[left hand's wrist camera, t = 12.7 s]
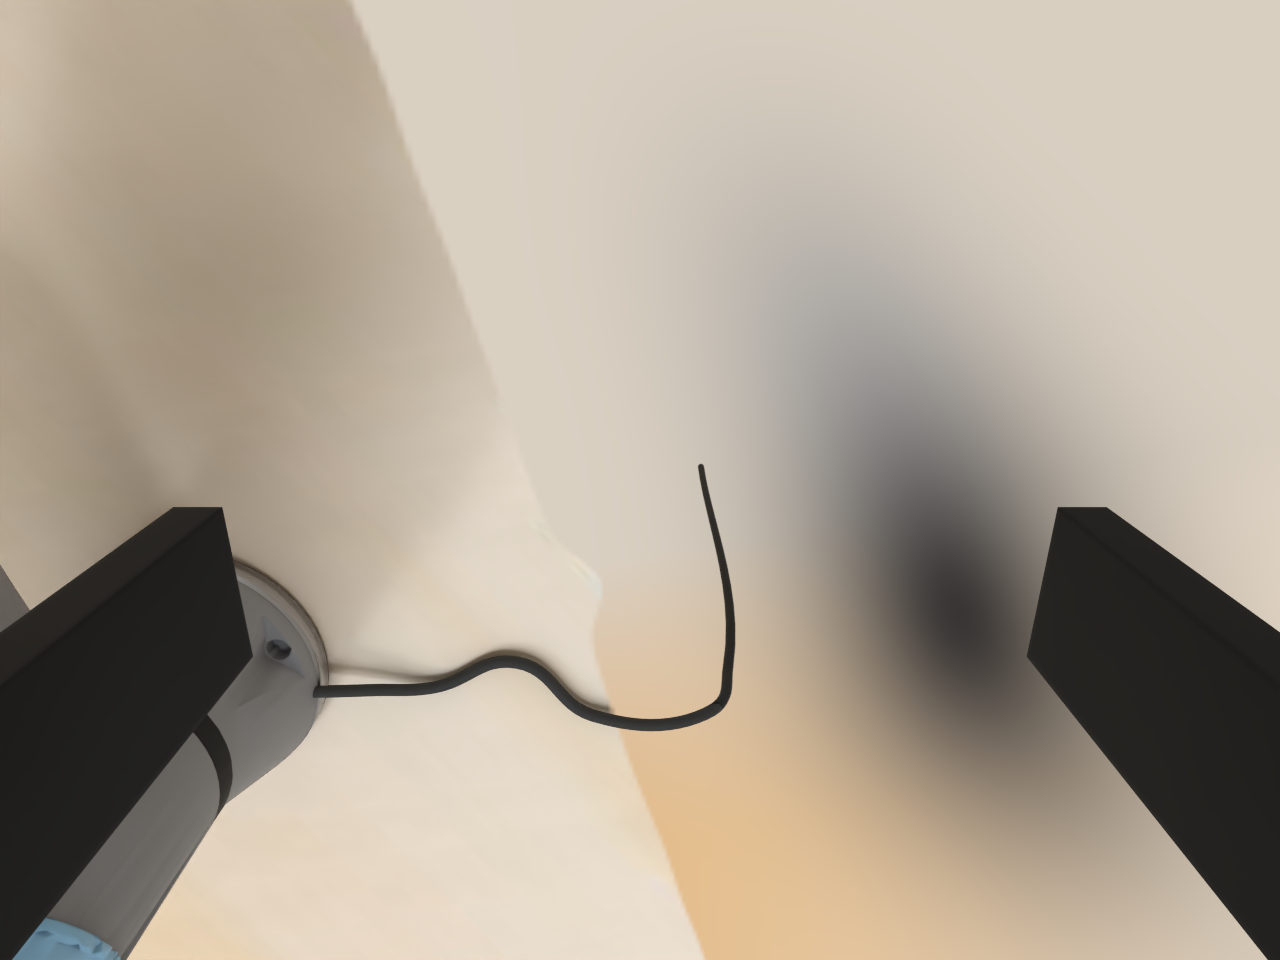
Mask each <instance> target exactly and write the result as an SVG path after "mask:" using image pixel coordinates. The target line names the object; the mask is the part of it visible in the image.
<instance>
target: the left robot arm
mask: <svg viewBox="0 0 1280 960" xmlns="http://www.w3.org/2000/svg"><path fill="white" fill-rule="evenodd" d="M698 471H699V477H700V483H701V488H702V493H703V498H704V502H705V507H706V511H707V515H708V519H709V523H710V528H711V532H712V536H713V540H714V545H715V549H716V554H717V558H718V563H719V569H720V574H721V580H722V587H723V595H724V603H725V619H726V635H725V652H724V660H723V669H722V682H721V690H720V694H719V696H718V697H717V699H716V700H715V701H714V702H713V703H711V704H710V705H708V706H706V707H704V708H703V709H700V710H698V711H695V712H692V713H689V714H686V715H682V716H678V717H672V718H664V719H638V718H629V717H623V716H618V715H613V714H609V713H605V712H601V711H597V710H594V709H591V708H589V707H586V706H584V705H583V704H581V703H579V702H578V701H577V700H575V699H574V698H573V697H572V696H571V695H570V694H569V693H568V692H567V691H566V690H565V689H564V687H563V686H562V685H561V684H560V683H559V682H558V681H557V680H556V678H555V677H554V676H553V675H552V674H551V673H550V672H548V671H547V670H546V669H545V668H544V667H542V666H541V665H539V664H537V663H536V662H534V661H531V660H529V659H526V658H522V657H518V656H498V657H492V658H489V659H486V660H483V661H481V662H478V663H476V664H474V665H472V666H470V667H469V668H467V669H465V670H463V671H461V672H459V673H457V674H455V675H453V676H451V677H448V678H446V679H443V680H439V681H434V682H428V683H419V684H361V685H328V666H327V659H326V655H325V651H324V648H323V645H322V642H321V640H320V638H319V635H318V633H317V631H316V629H315V628H314V626H313V624H312V623H311V621H310V619H309V618H308V617H307V615H306V614H305V612H304V611H303V610H302V609H301V608H300V606H299V605H298V604H297V603H296V602H295V601H294V600H293V599H292V598H291V597H290V596H289V595H288V594H287V593H286V592H285V591H284V590H282V589H281V588H280V587H279V586H278V585H276V584H275V583H274V582H272V581H271V580H269V579H268V578H266V577H265V576H263V575H262V574H260V573H258V572H256V571H255V570H253V569H251V568H249V567H247V566H245V565H243V564H240V563H238V562H235V561H233V557H232V552H231V547H230V543H229V538H228V533H227V528H226V523H225V519H224V514H223V509H222V507H173V508H172V509H170V510H169V511H168V512H166V513H165V514H163V515H162V516H161V517H159V518H158V519H156V520H155V521H154V522H152V523H151V524H150V525H148V526H147V527H145V528H144V529H143V530H141V531H140V532H138V533H137V534H136V535H134V536H133V537H132V538H130V539H129V540H127V541H126V542H125V543H123V544H122V545H120V546H119V547H118V548H116V549H115V550H114V551H112V552H111V553H109V554H108V555H107V556H105V557H104V558H102V559H101V560H100V561H98V562H97V563H96V564H94V565H93V566H91V567H90V568H89V569H87V570H86V571H84V572H83V573H82V574H80V575H79V576H78V577H76V578H75V579H73V580H72V581H71V582H69V583H68V584H66V585H65V586H64V587H62V588H61V589H60V590H58V591H57V592H55V593H54V594H53V595H51V596H50V597H48V598H47V599H46V600H44V601H43V602H42V603H40V604H39V605H37V606H36V607H35V608H33V609H32V610H29V608H28V607H27V605H26V604H25V602H24V601H23V599H22V598H21V596H20V595H19V593H18V592H17V590H16V589H15V587H14V586H13V584H12V583H11V581H10V579H9V578H8V576H7V575H6V573H5V571H4V570H3V568H2V567H1V565H0V960H126V959H127V958H128V956H129V955H130V953H131V952H132V950H133V948H134V947H135V945H136V944H137V942H138V940H139V939H140V937H141V936H142V934H143V933H144V931H145V929H146V928H147V926H148V925H149V923H150V922H151V920H152V918H153V917H154V915H155V914H156V912H157V910H158V909H159V907H160V906H161V904H162V903H163V901H164V899H165V898H166V896H167V895H168V893H169V892H170V890H171V888H172V887H173V885H174V884H175V882H176V880H177V879H178V877H179V876H180V874H181V873H182V871H183V869H184V868H185V866H186V865H187V863H188V862H189V860H190V858H191V857H192V855H193V854H194V852H195V851H196V849H197V847H198V846H199V844H200V843H201V841H202V839H203V838H204V836H205V835H206V833H207V832H208V830H209V828H210V827H211V825H212V823H213V822H214V820H215V819H216V817H217V816H218V814H219V813H220V811H221V810H222V808H223V807H224V805H225V804H226V803H228V802H229V801H230V800H232V799H233V798H234V797H236V796H237V795H238V794H240V793H241V792H242V791H244V790H245V789H246V788H248V787H249V786H250V785H252V784H253V783H254V782H256V781H257V780H258V779H260V778H261V777H262V776H264V775H265V774H266V773H268V772H269V771H270V770H272V769H273V768H274V767H276V766H277V765H278V764H279V763H281V762H282V761H283V760H284V759H286V758H287V757H288V756H289V755H290V754H291V753H292V752H293V751H294V750H295V749H296V748H297V747H298V746H299V745H300V743H301V742H302V741H303V740H304V738H305V737H306V736H307V734H308V732H309V731H310V729H311V727H312V726H313V724H314V722H315V721H316V719H317V717H318V715H319V713H320V712H321V709H322V707H323V704H324V702H325V698H328V697H361V696H416V695H426V694H433V693H438V692H443V691H446V690H449V689H452V688H454V687H457V686H459V685H461V684H463V683H465V682H467V681H469V680H471V679H473V678H475V677H476V676H478V675H480V674H482V673H485V672H487V671H489V670H493V669H497V668H516V669H520V670H524V671H526V672H529V673H531V674H532V675H534V676H536V677H537V678H538V679H540V680H541V681H542V682H543V683H544V684H545V685H546V686H547V687H548V688H549V689H550V690H551V692H552V693H553V694H554V695H555V696H556V697H557V698H558V699H559V700H560V701H561V702H562V703H563V704H564V705H565V706H566V707H567V708H568V709H569V710H571V711H572V712H573V713H575V714H576V715H578V716H580V717H582V718H584V719H587V720H589V721H592V722H596V723H599V724H603V725H607V726H612V727H617V728H622V729H629V730H638V731H665V730H673V729H679V728H683V727H688V726H691V725H694V724H697V723H700V722H702V721H705V720H707V719H709V718H711V717H713V716H715V715H716V714H718V713H719V712H720V711H722V710H723V709H724V707H725V706H726V705H727V703H728V701H729V699H730V696H731V693H732V683H733V666H734V655H735V613H734V602H733V595H732V588H731V582H730V577H729V572H728V567H727V562H726V558H725V553H724V549H723V545H722V541H721V537H720V533H719V529H718V526H717V522H716V518H715V514H714V510H713V506H712V502H711V498H710V494H709V490H708V485H707V480H706V475H705V469H704V465H703V464H699V465H698ZM1027 657H1028V659H1029V660H1030V661H1031V663H1032V664H1033V665H1034V666H1035V668H1036V669H1037V670H1038V671H1039V673H1040V674H1041V675H1042V676H1043V678H1044V679H1045V680H1046V681H1047V683H1048V684H1049V685H1050V686H1051V688H1052V689H1053V690H1054V691H1055V693H1056V694H1057V695H1058V697H1059V698H1060V699H1061V700H1062V702H1063V703H1064V704H1065V705H1066V707H1067V708H1068V709H1069V710H1070V712H1071V713H1072V714H1073V715H1074V717H1075V718H1076V719H1077V720H1078V722H1079V723H1080V724H1081V725H1082V727H1083V728H1084V729H1085V730H1086V732H1087V733H1088V734H1089V735H1090V737H1091V738H1092V739H1093V740H1094V742H1095V743H1096V744H1097V746H1098V747H1099V748H1100V749H1101V751H1102V752H1103V753H1104V754H1105V756H1106V757H1107V758H1108V759H1109V761H1110V762H1111V763H1112V764H1113V766H1114V767H1115V768H1116V769H1117V771H1118V772H1119V773H1120V774H1121V776H1122V777H1123V778H1124V779H1125V781H1126V782H1127V783H1128V784H1129V786H1130V787H1131V788H1132V790H1133V791H1134V792H1135V793H1136V795H1137V796H1138V797H1139V798H1140V800H1141V801H1142V802H1143V803H1144V805H1145V806H1146V807H1147V808H1148V810H1149V811H1150V812H1151V813H1152V815H1153V816H1154V817H1155V818H1156V820H1157V821H1158V822H1159V824H1160V825H1161V826H1162V827H1163V829H1164V830H1165V831H1166V832H1167V834H1168V835H1169V836H1170V837H1171V839H1172V840H1173V841H1174V842H1175V844H1176V845H1177V846H1178V847H1179V849H1180V850H1181V851H1182V852H1183V854H1184V855H1185V856H1186V857H1187V859H1188V860H1189V861H1190V862H1191V864H1192V865H1193V866H1194V867H1195V869H1196V870H1197V871H1198V873H1199V874H1200V875H1201V876H1202V878H1203V879H1204V880H1205V881H1206V883H1207V884H1208V885H1209V886H1210V888H1211V889H1212V890H1213V891H1214V893H1215V894H1216V895H1217V896H1218V898H1219V899H1220V900H1221V902H1222V903H1223V904H1224V905H1225V907H1226V908H1227V909H1228V910H1229V912H1230V913H1231V914H1232V915H1233V916H1234V918H1235V919H1236V920H1237V922H1238V923H1239V924H1240V925H1241V927H1242V928H1243V929H1244V930H1245V932H1246V933H1247V934H1248V935H1249V937H1250V938H1251V939H1252V940H1253V942H1254V943H1255V944H1256V946H1257V947H1258V948H1259V949H1260V951H1261V952H1262V953H1263V954H1264V956H1265V957H1266V958H1267V959H1268V960H1280V632H1279V631H1277V630H1276V629H1274V628H1273V627H1272V626H1270V625H1269V624H1268V623H1266V622H1265V621H1263V620H1262V619H1260V618H1259V617H1258V616H1256V615H1255V614H1254V613H1252V612H1251V611H1250V610H1248V609H1247V608H1245V607H1244V606H1243V605H1241V604H1240V603H1238V602H1237V601H1236V600H1234V599H1233V598H1231V597H1230V596H1229V595H1227V594H1226V593H1225V592H1223V591H1222V590H1220V589H1219V588H1218V587H1216V586H1215V585H1214V584H1212V583H1211V582H1209V581H1208V580H1207V579H1205V578H1204V577H1202V576H1201V575H1200V574H1198V573H1197V572H1196V571H1194V570H1193V569H1191V568H1190V567H1189V566H1187V565H1186V564H1184V563H1183V562H1182V561H1180V560H1179V559H1177V558H1176V557H1175V556H1173V555H1172V554H1171V553H1169V552H1168V551H1166V550H1165V549H1164V548H1162V547H1161V546H1160V545H1158V544H1157V543H1155V542H1154V541H1153V540H1151V539H1150V538H1148V537H1147V536H1146V535H1144V534H1143V533H1142V532H1140V531H1139V530H1137V529H1136V528H1135V527H1133V526H1132V525H1130V524H1129V523H1128V522H1126V521H1125V520H1124V519H1122V518H1121V517H1119V516H1118V515H1117V514H1115V513H1114V512H1112V511H1111V510H1110V509H1108V508H1107V507H1058V509H1057V514H1056V519H1055V523H1054V528H1053V533H1052V538H1051V543H1050V547H1049V552H1048V557H1047V562H1046V567H1045V571H1044V576H1043V581H1042V586H1041V591H1040V596H1039V600H1038V605H1037V610H1036V615H1035V620H1034V624H1033V629H1032V634H1031V639H1030V644H1029V648H1028V653H1027Z"/></svg>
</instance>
